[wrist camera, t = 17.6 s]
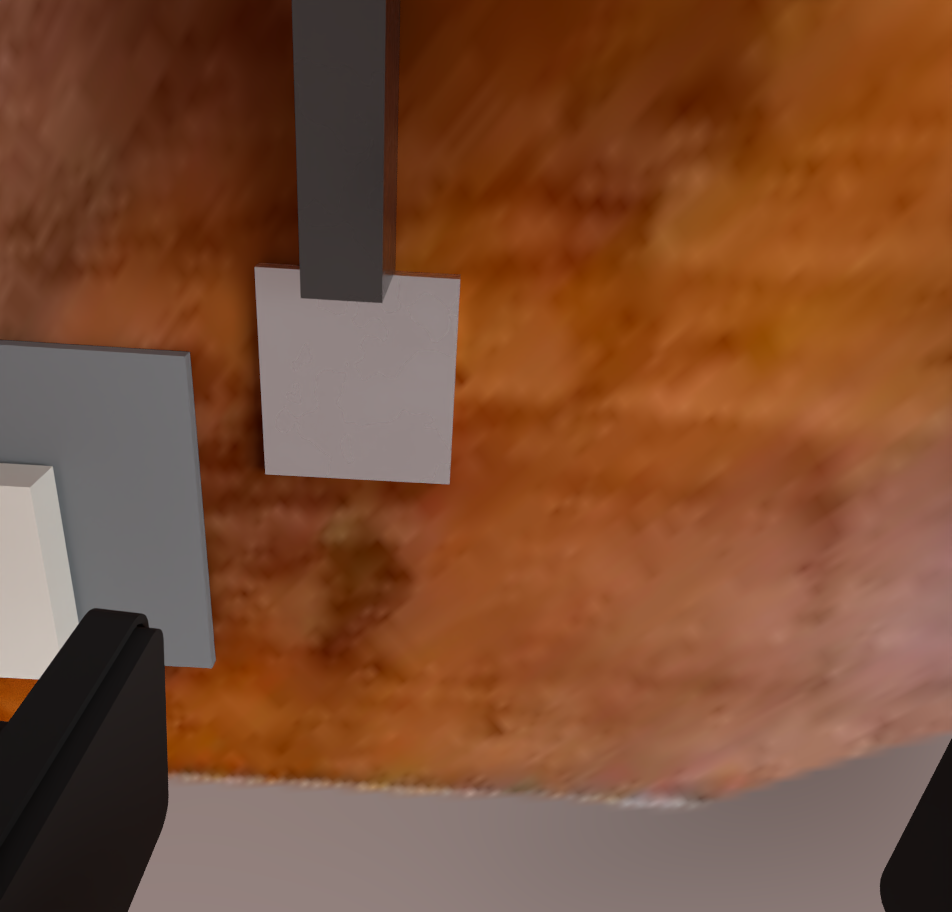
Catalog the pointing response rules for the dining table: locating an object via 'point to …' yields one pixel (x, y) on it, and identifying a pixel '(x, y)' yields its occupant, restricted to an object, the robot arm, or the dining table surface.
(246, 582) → the dining table surface
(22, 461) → the mat
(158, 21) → the dining table surface
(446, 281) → the trowel
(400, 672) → the dining table surface
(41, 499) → the tile
